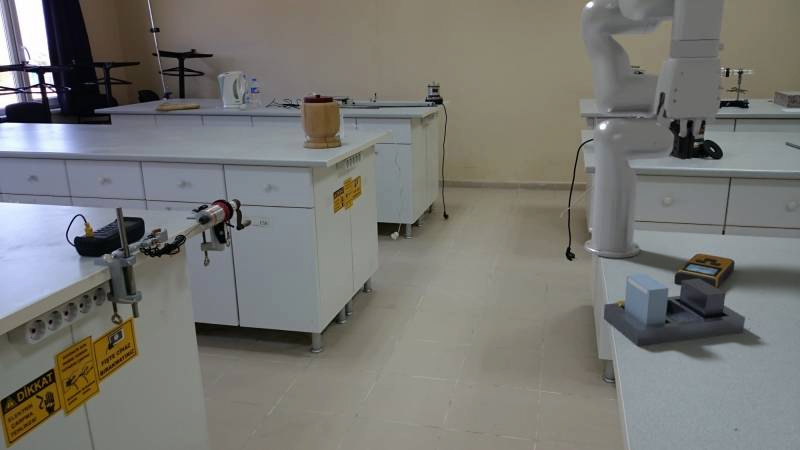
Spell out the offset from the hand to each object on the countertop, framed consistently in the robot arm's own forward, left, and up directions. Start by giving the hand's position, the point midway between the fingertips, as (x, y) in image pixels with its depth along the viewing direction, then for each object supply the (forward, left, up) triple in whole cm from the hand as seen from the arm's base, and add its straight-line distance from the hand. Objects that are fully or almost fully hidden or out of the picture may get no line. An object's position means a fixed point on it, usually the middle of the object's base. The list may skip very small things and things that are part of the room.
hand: (682, 157), depth 109 cm
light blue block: (+8, -10, -28) cm, 30 cm away
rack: (+8, -5, -29) cm, 30 cm away
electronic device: (-11, +16, -29) cm, 35 cm away
